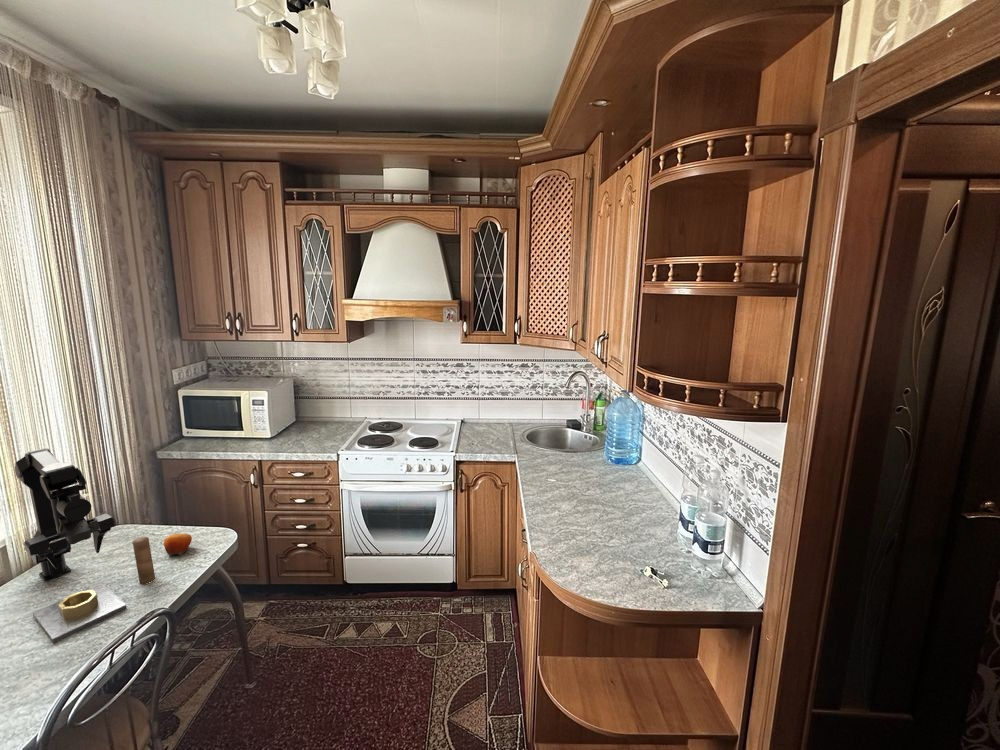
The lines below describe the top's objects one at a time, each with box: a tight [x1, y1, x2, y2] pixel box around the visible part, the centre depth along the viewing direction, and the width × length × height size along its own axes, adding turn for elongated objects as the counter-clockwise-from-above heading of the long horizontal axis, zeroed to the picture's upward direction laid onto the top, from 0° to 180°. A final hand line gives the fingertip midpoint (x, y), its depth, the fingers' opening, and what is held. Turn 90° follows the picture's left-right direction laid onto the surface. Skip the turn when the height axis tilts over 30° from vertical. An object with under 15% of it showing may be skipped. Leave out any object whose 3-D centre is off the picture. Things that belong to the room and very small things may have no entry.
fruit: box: [163, 532, 193, 557], centre depth 165 cm, size 8×8×8 cm
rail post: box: [132, 536, 156, 585], centre depth 149 cm, size 4×4×14 cm
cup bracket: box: [32, 582, 127, 645], centre depth 135 cm, size 18×16×4 cm
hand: (77, 560), depth 136 cm, fingers open, 9 cm apart
